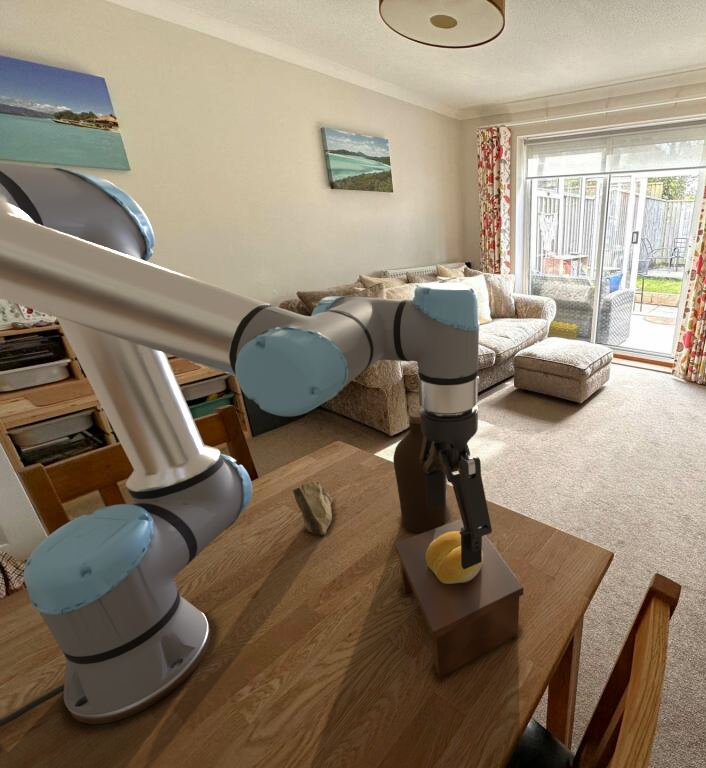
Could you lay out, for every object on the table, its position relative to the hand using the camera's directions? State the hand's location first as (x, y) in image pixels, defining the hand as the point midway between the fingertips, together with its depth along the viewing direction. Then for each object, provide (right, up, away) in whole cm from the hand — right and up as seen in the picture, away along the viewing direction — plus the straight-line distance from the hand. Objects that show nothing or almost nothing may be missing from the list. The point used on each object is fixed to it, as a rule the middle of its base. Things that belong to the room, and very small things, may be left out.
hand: (452, 533), depth 61 cm
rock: (-32, -6, +26) cm, 42 cm away
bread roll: (0, -6, +2) cm, 6 cm away
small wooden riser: (0, -15, +6) cm, 16 cm away
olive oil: (-10, -7, +26) cm, 29 cm away
